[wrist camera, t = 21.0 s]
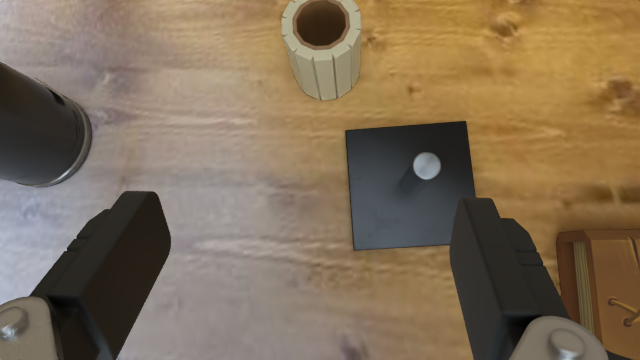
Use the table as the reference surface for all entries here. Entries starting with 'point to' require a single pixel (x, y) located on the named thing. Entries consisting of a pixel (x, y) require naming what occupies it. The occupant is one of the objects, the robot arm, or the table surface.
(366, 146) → the stand
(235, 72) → the table surface
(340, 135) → the table surface
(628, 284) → the diary
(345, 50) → the wooden cup
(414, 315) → the table surface
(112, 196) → the table surface
